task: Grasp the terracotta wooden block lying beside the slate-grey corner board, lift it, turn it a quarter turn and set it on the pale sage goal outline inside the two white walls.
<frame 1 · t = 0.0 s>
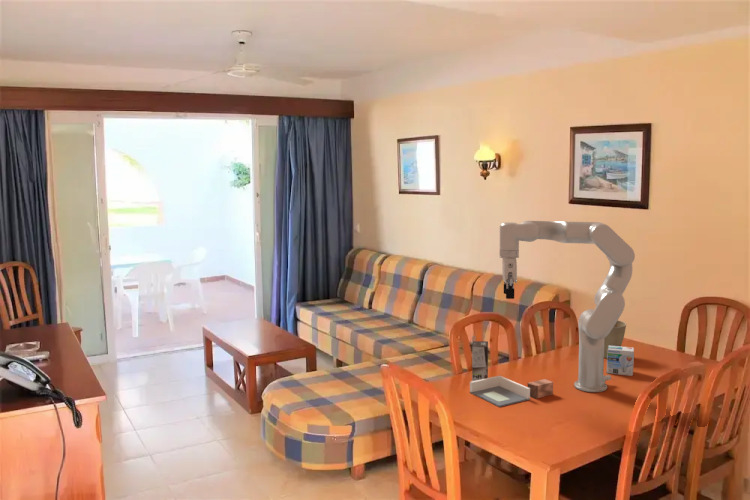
hand: (508, 296, 258), 37 cm above the table, tool pointing down, fingers open, 9 cm apart
light bulb box: (619, 372, 277), on the table
plant pot: (608, 356, 300), on the table
corner arena: (499, 396, 251), on the table
coffee box: (480, 381, 269), on the table
block: (540, 394, 252), on the table
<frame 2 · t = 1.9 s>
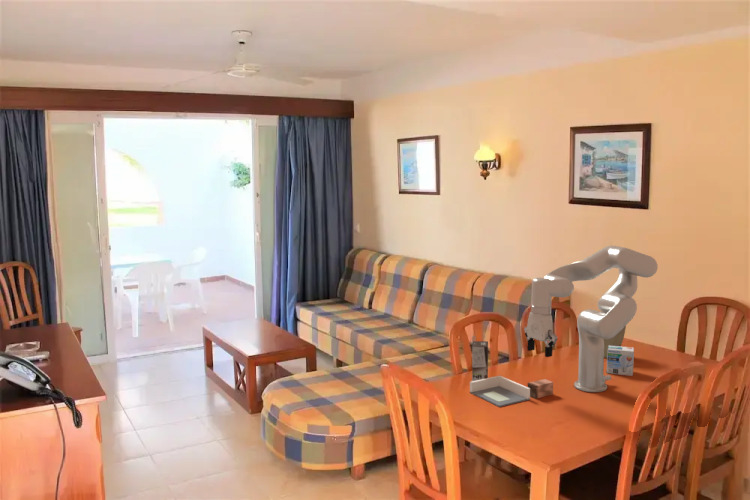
hand: (539, 353, 249), 17 cm above the table, tool pointing down, fingers open, 9 cm apart
nothing on the table moved.
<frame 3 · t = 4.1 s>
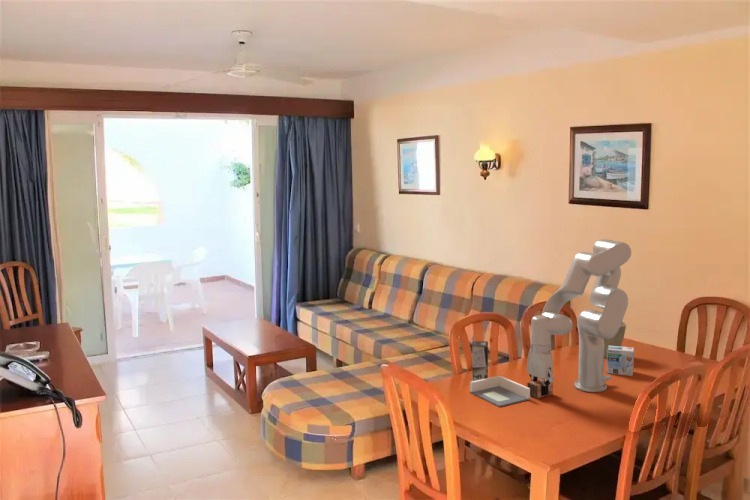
hand: (540, 392, 252), 1 cm above the table, tool pointing down, fingers closed on block, 4 cm apart
block: (540, 394, 252), on the table, touching gripper
everything else where it was.
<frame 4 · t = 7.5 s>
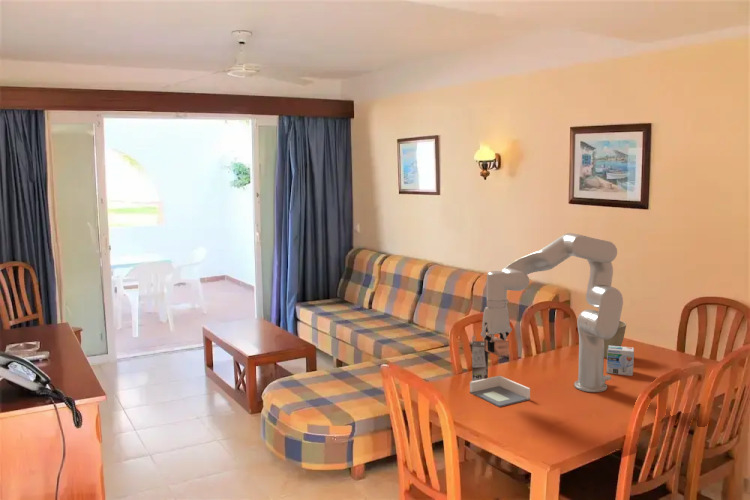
hand: (496, 350, 247), 19 cm above the table, tool pointing down, fingers closed on block, 4 cm apart
block: (496, 352, 247), point 18 cm above the table, touching gripper
everything else where it was.
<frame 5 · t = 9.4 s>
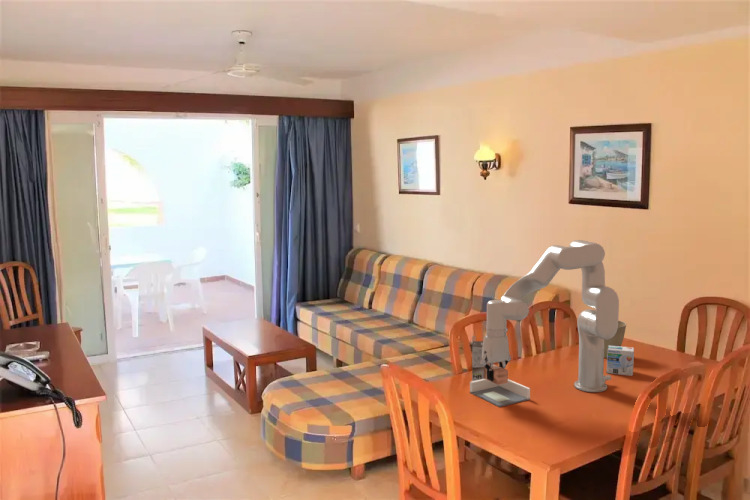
hand: (495, 378, 248), 8 cm above the table, tool pointing down, fingers closed on block, 4 cm apart
block: (495, 380, 248), point 7 cm above the table, touching gripper
everything else where it was.
when the fingers open (3 cm above the table, at t = 11.2 s): block drops 1 cm, resting on corner arena.
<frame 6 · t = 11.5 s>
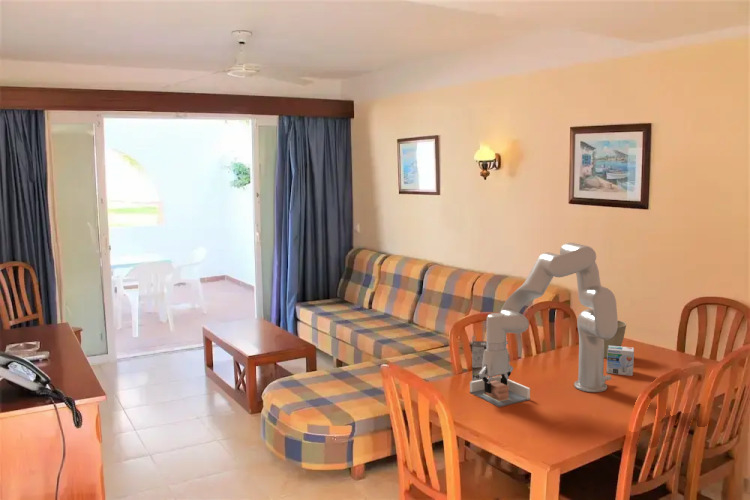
hand: (496, 390, 249), 3 cm above the table, tool pointing down, fingers open, 7 cm apart
block: (496, 396, 249), point 1 cm above the table, touching corner arena
everything else where it was.
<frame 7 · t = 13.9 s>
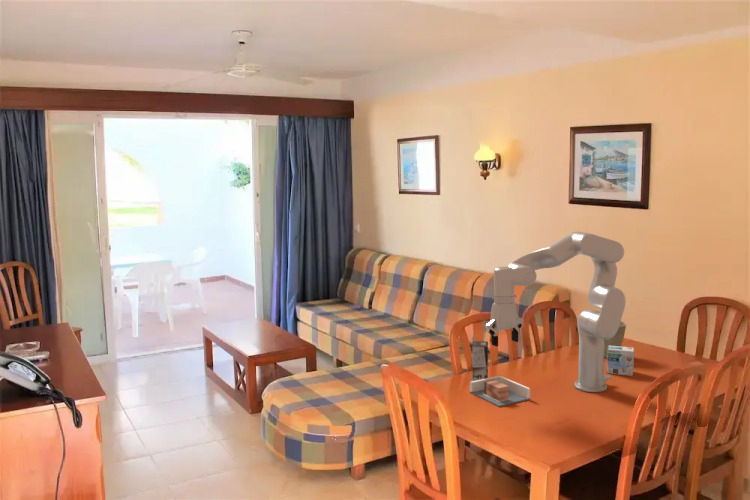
hand: (505, 343, 246), 22 cm above the table, tool pointing down, fingers open, 9 cm apart
nothing on the table moved.
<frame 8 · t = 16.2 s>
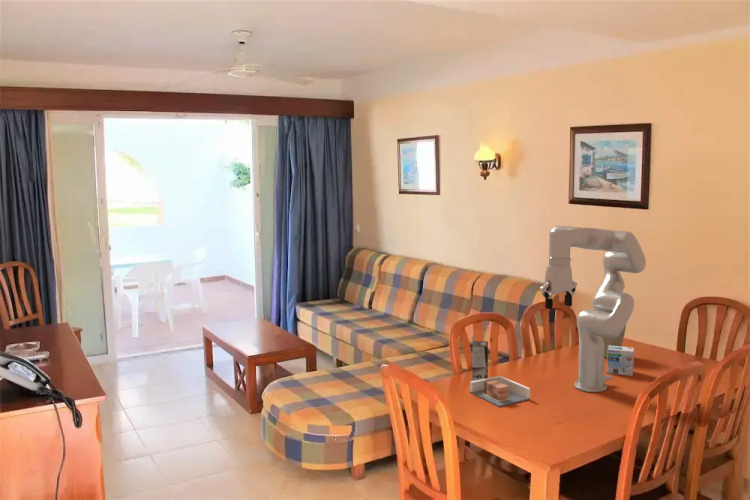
hand: (558, 307, 241), 36 cm above the table, tool pointing down, fingers open, 9 cm apart
nothing on the table moved.
at the end: block 0.1 cm from the target spot, point 0.7 cm above the table; block tilted 0°; the gripper is holding nothing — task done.
